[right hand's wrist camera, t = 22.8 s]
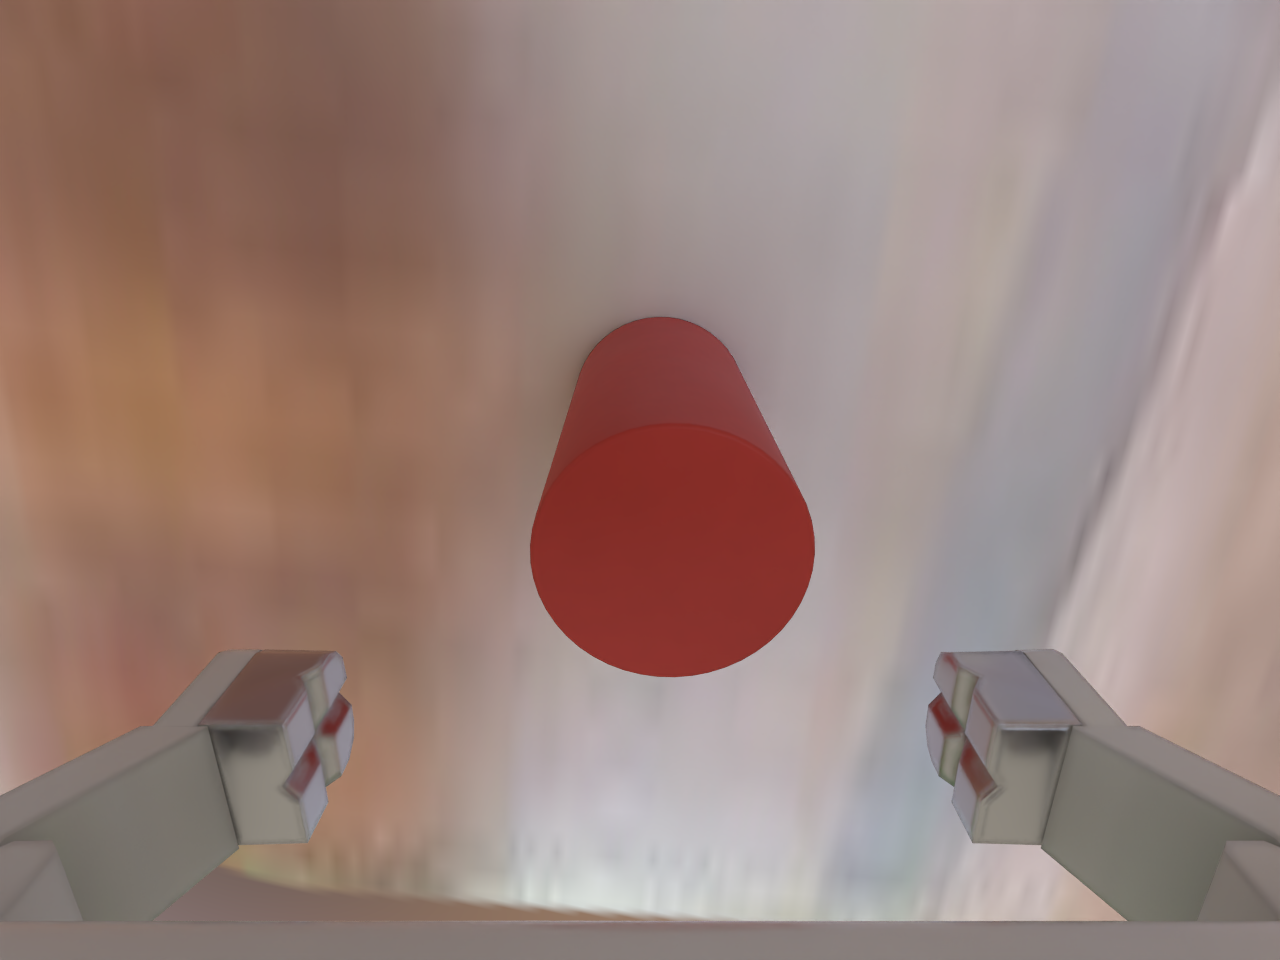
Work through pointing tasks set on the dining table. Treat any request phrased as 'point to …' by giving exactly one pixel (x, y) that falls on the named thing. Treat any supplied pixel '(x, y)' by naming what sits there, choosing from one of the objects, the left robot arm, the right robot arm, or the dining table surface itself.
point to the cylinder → (669, 509)
